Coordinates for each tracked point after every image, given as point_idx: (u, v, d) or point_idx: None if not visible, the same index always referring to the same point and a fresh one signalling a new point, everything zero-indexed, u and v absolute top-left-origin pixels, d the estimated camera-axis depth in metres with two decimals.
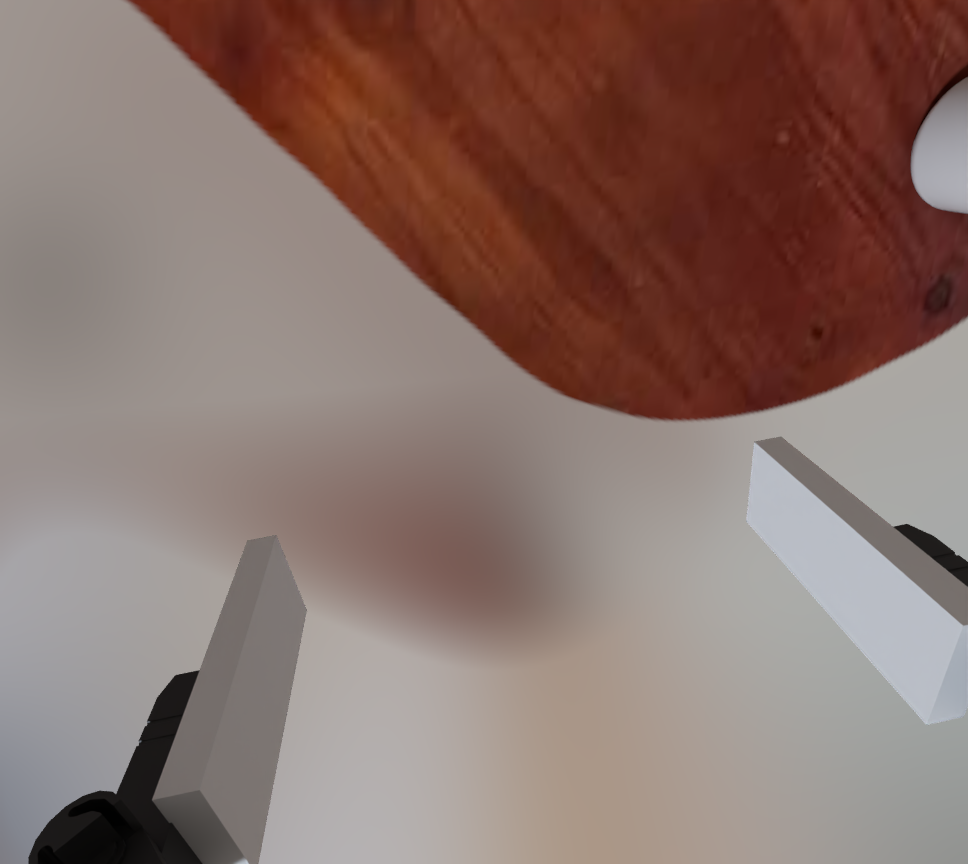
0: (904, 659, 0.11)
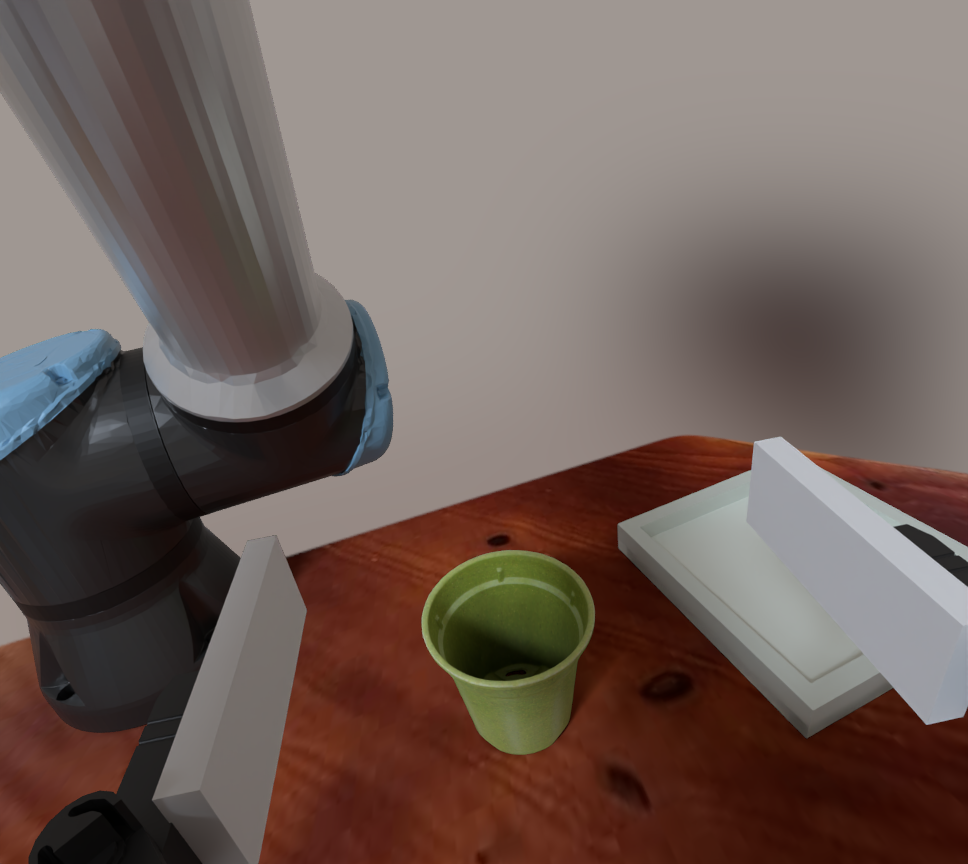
0: (904, 659, 0.11)
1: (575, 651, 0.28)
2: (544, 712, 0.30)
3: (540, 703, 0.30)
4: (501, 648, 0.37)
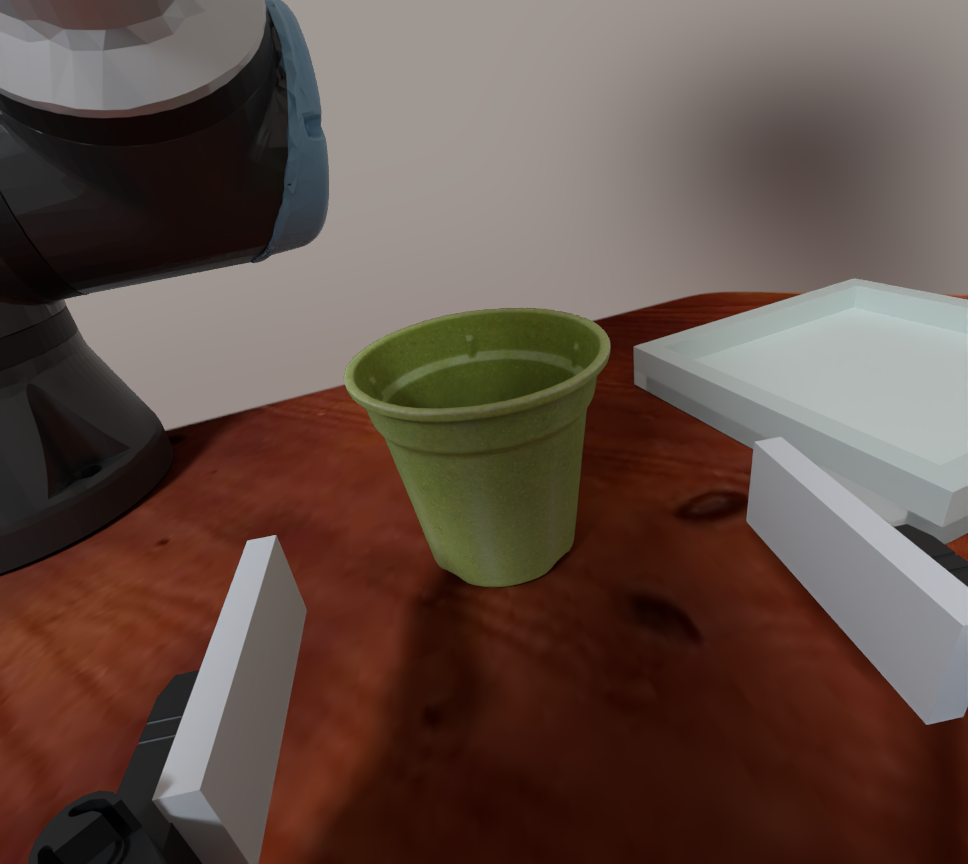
0: (904, 659, 0.11)
1: (580, 373, 0.17)
2: (532, 498, 0.19)
3: (526, 475, 0.19)
4: None
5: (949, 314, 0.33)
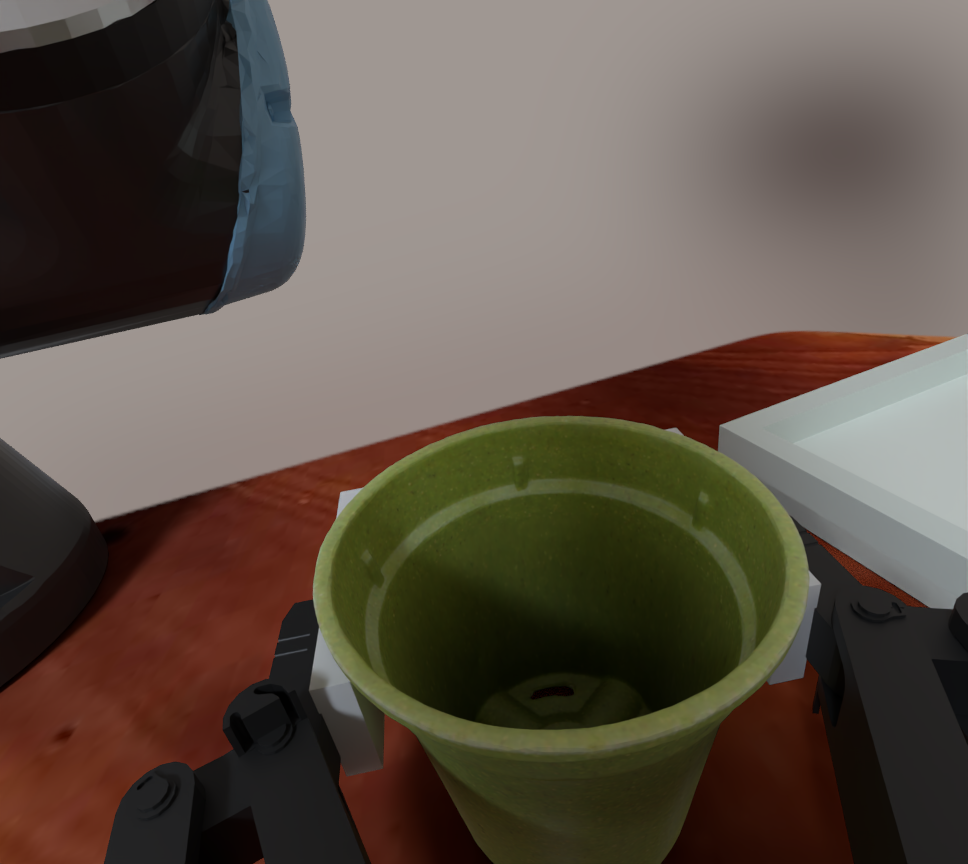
0: None
1: (778, 629, 0.09)
2: (654, 810, 0.11)
3: (650, 789, 0.10)
4: (521, 640, 0.18)
5: None
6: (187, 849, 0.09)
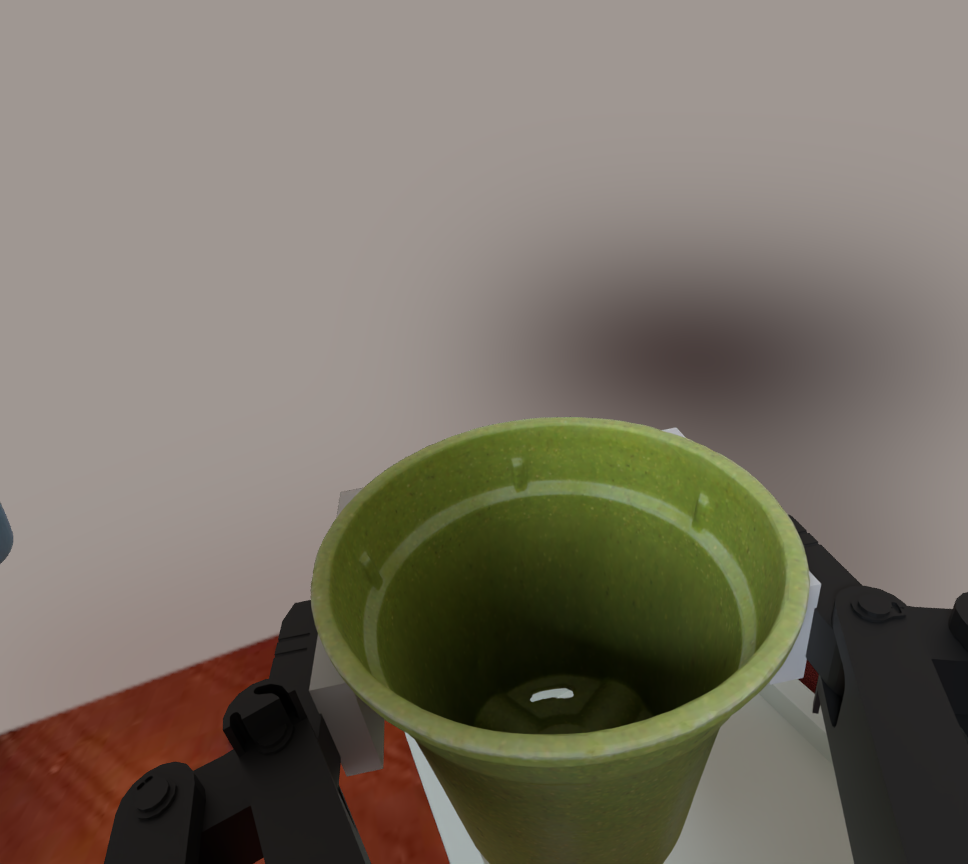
0: None
1: (778, 633, 0.09)
2: (653, 814, 0.11)
3: (650, 793, 0.10)
4: (520, 641, 0.18)
5: (777, 697, 0.28)
6: (187, 849, 0.09)
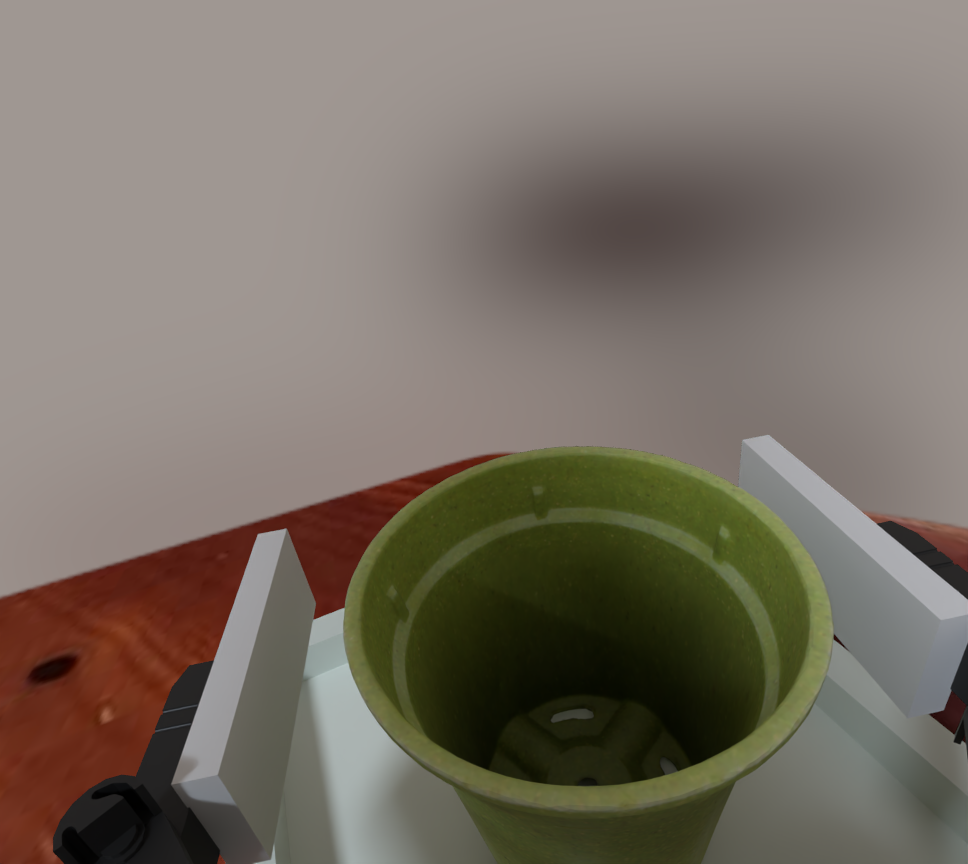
0: (886, 654, 0.11)
1: (804, 682, 0.09)
2: (679, 848, 0.11)
3: (676, 831, 0.10)
4: (541, 663, 0.18)
5: None
6: None
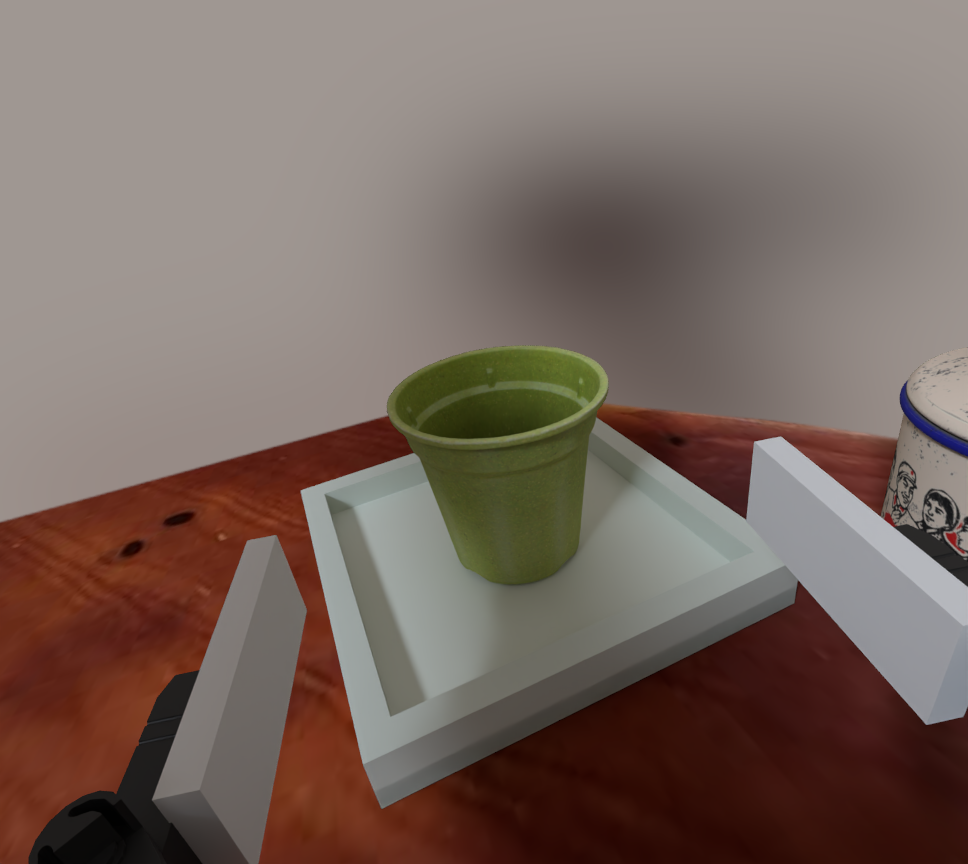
0: (904, 659, 0.11)
1: (583, 409, 0.21)
2: (543, 510, 0.23)
3: (538, 492, 0.23)
4: None
5: (619, 461, 0.32)
6: None
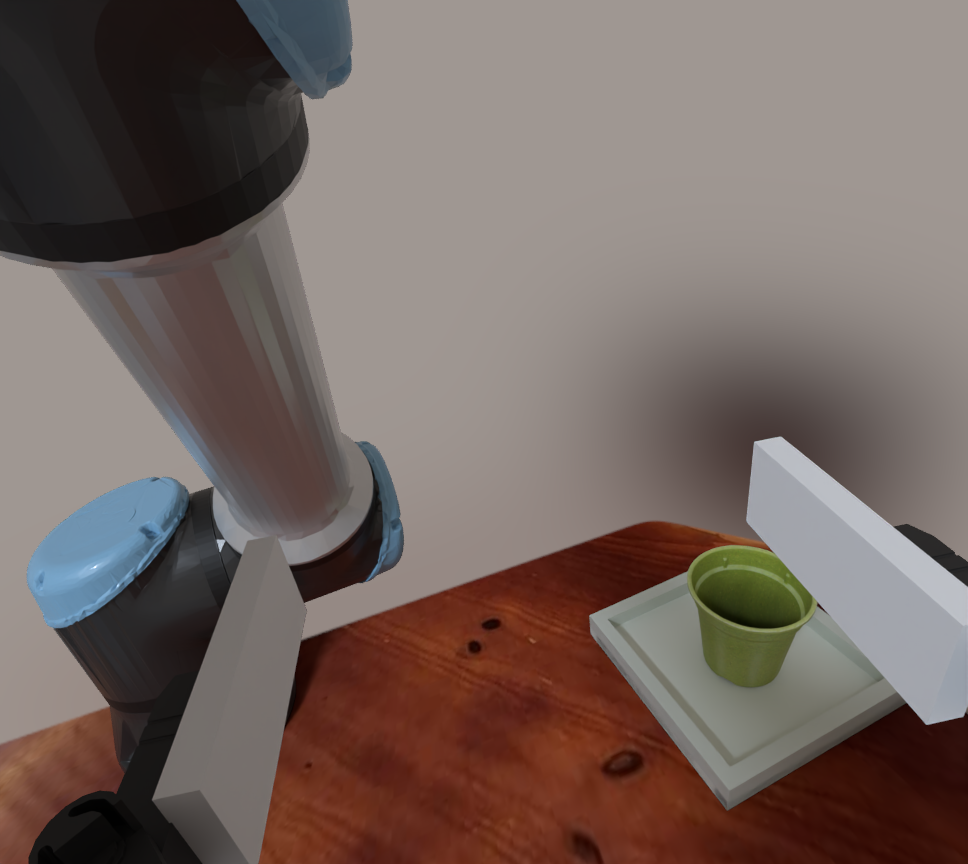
0: (904, 659, 0.11)
1: (811, 610, 0.43)
2: (779, 654, 0.45)
3: (780, 647, 0.44)
4: None
5: None
6: None
